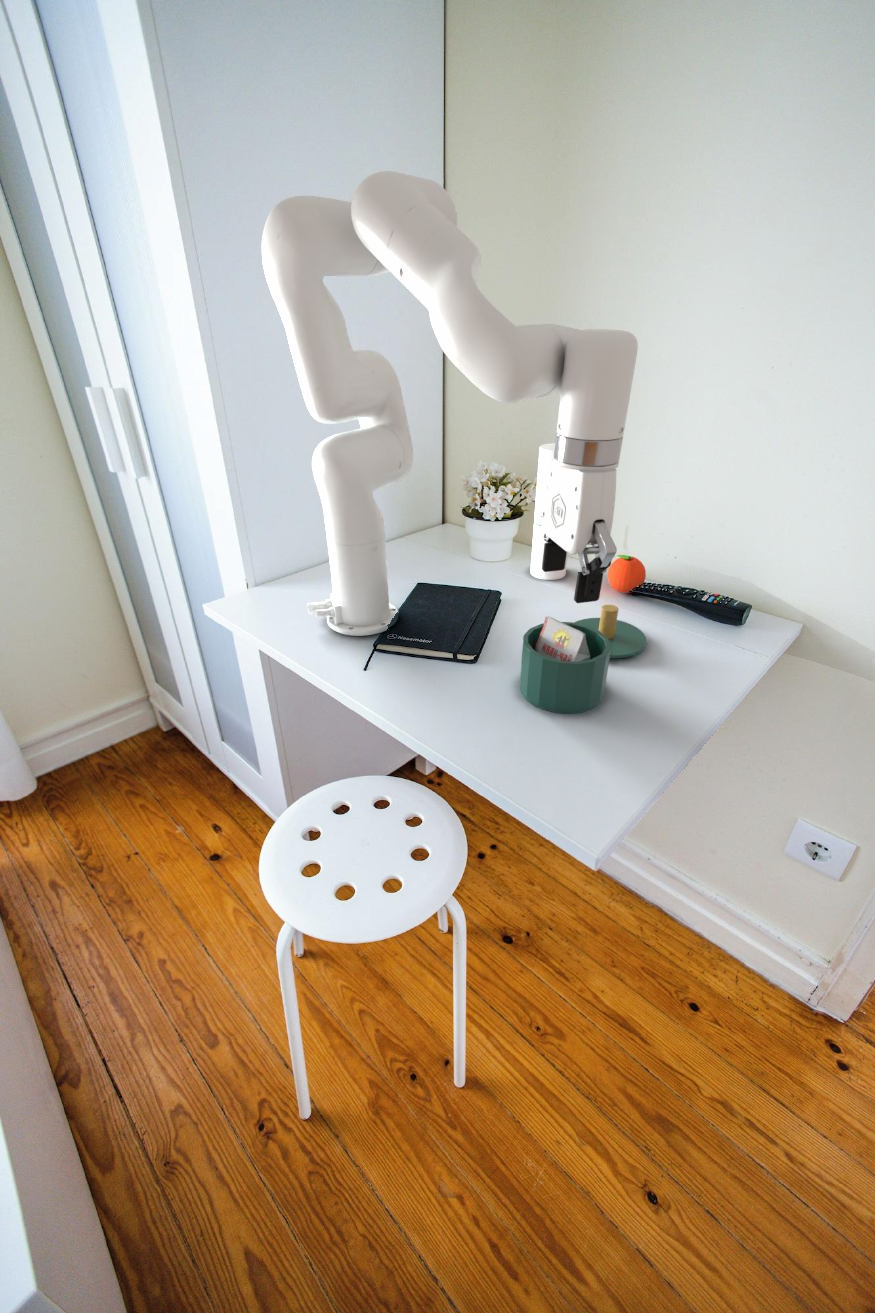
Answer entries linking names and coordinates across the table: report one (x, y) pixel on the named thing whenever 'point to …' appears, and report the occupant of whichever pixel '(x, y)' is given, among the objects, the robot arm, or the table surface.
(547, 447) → the cylindrical container
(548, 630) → the tea bag
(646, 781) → the table surface
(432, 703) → the table surface
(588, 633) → the tin
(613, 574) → the clementine
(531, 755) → the table surface
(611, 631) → the tin lid
